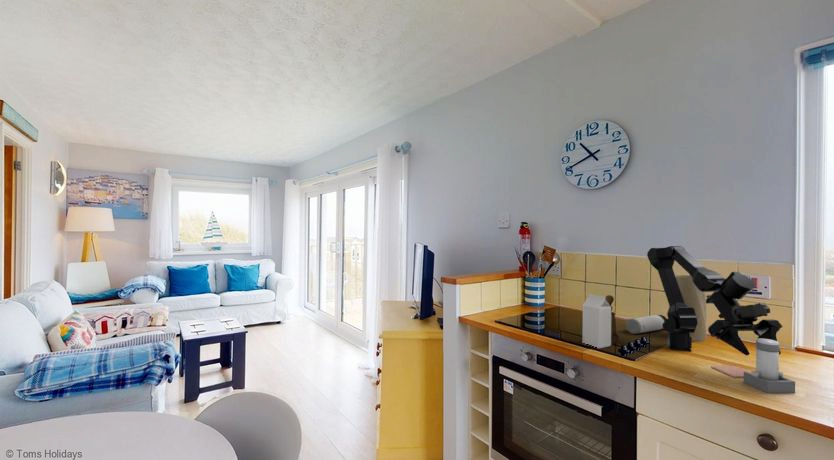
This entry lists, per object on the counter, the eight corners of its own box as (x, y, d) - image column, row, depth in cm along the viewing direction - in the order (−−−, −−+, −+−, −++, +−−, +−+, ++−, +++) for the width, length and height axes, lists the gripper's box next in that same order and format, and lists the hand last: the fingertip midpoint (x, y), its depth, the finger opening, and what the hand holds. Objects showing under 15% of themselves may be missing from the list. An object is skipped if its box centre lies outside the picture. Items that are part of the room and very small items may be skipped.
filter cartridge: (750, 383, 105) (751, 338, 105) (766, 382, 105) (767, 338, 105) (767, 390, 100) (767, 343, 100) (784, 390, 101) (784, 343, 101)
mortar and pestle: (600, 341, 143) (600, 296, 143) (599, 337, 149) (599, 293, 149) (619, 344, 141) (620, 297, 141) (617, 339, 147) (617, 294, 147)
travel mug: (642, 330, 150) (673, 325, 158) (633, 316, 154) (663, 311, 162) (631, 337, 155) (661, 331, 163) (622, 322, 158) (652, 318, 167)
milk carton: (598, 349, 135) (599, 297, 135) (582, 343, 141) (582, 294, 141) (611, 346, 138) (611, 296, 138) (594, 341, 144) (594, 293, 144)
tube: (671, 337, 150) (672, 276, 149) (680, 333, 156) (680, 274, 156) (701, 343, 142) (702, 279, 142) (709, 338, 148) (709, 277, 148)
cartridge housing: (742, 382, 106) (742, 367, 106) (770, 381, 106) (770, 367, 106) (766, 393, 99) (766, 377, 99) (796, 392, 99) (796, 377, 99)
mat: (711, 367, 117) (711, 366, 117) (735, 367, 117) (735, 365, 117) (734, 378, 109) (734, 376, 109) (759, 377, 109) (759, 376, 109)
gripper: (715, 293, 109) (751, 341, 98) (775, 292, 110) (817, 340, 99) (694, 313, 117) (725, 360, 106) (750, 313, 118) (787, 359, 106)
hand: (763, 354), depth 104 cm, fingers open, 9 cm apart
